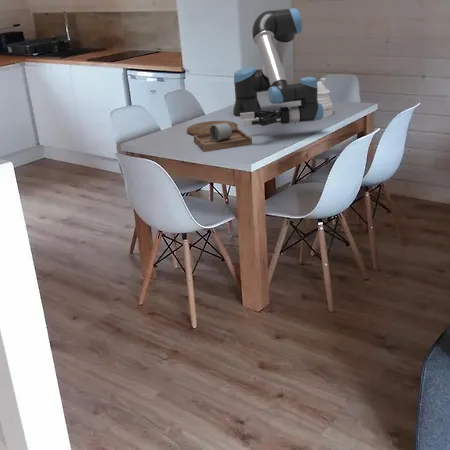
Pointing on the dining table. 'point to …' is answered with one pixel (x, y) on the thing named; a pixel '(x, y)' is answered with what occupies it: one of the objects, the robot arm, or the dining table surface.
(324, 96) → the honey pot
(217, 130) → the ceramic mug
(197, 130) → the trivet
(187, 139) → the dining table surface
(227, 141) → the walnut tray
